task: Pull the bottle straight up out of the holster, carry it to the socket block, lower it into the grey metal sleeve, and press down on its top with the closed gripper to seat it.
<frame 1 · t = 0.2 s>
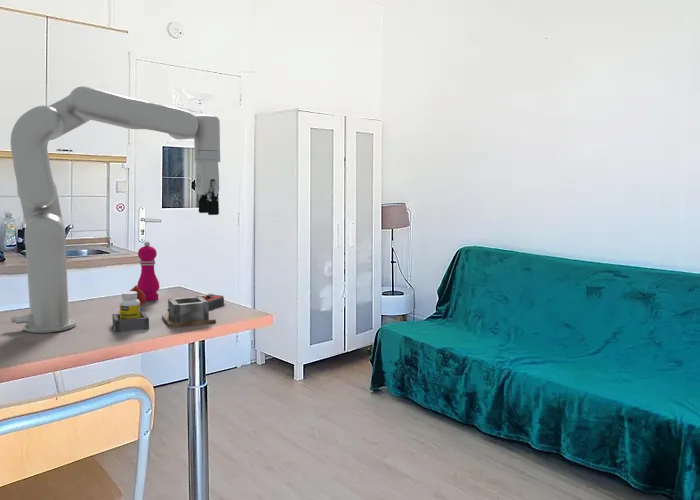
hand: (208, 213, 175), 31 cm above the table, tool pointing down, fingers open, 9 cm apart
holster: (130, 326, 161), on the table
socket: (188, 320, 168), on the table
pepper mill: (148, 300, 196), on the table
walkie-talkie: (197, 309, 184), on the table
onion: (136, 310, 180), on the table
supplement bottle: (130, 327, 161), resting in holster
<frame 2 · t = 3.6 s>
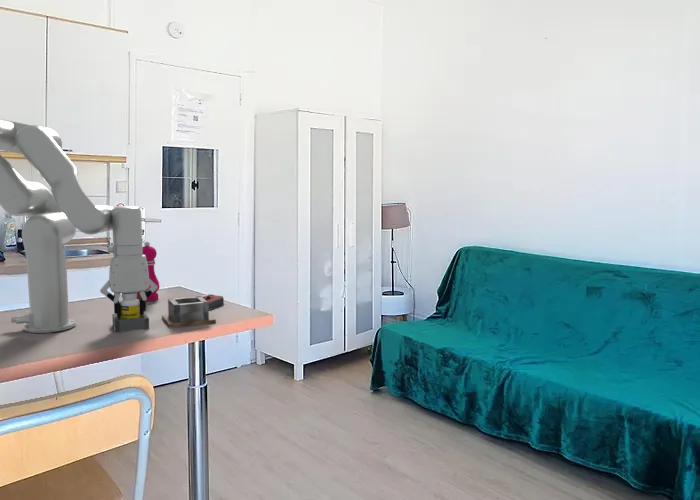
hand: (130, 314, 161), 4 cm above the table, tool pointing down, fingers closed on supplement bottle, 5 cm apart
supplement bottle: (130, 327, 161), resting in holster, touching gripper
everything else where it was.
when the fingers open (7 cm above the table, at t = 10.0 s): supplement bottle drops 2 cm, resting on socket.
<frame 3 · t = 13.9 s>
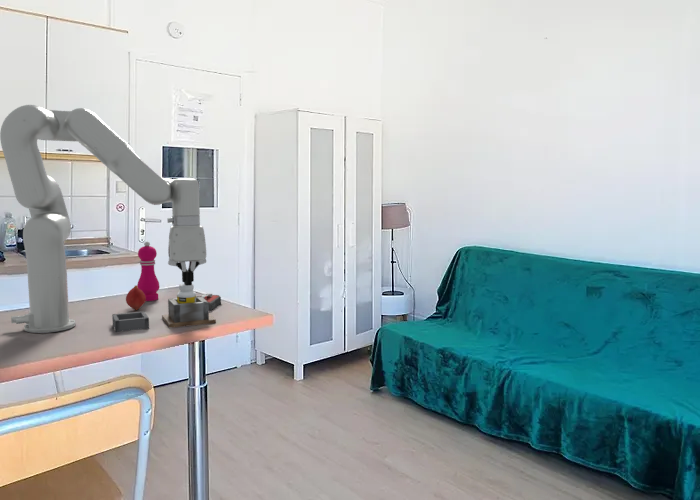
hand: (188, 284, 167), 11 cm above the table, tool pointing down, fingers closed
supplement bottle: (186, 318, 168), point 1 cm above the table, touching gripper, socket
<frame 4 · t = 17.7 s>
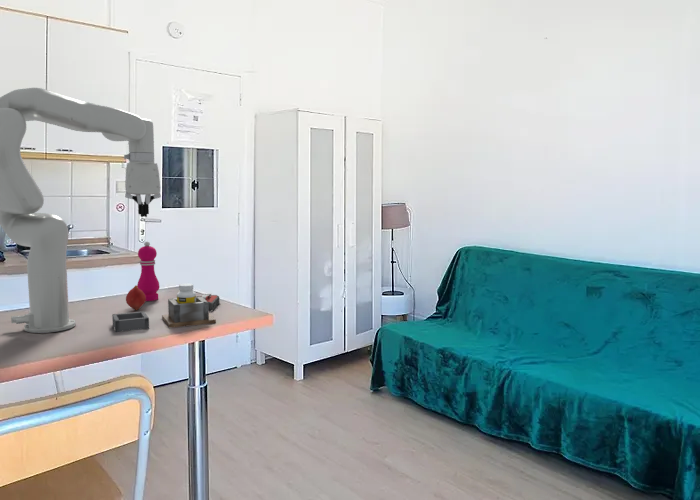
hand: (143, 216, 184), 29 cm above the table, tool pointing down, fingers closed
supplement bottle: (186, 318, 168), point 1 cm above the table, touching socket
at the end: supplement bottle 0.5 cm off-centre on the socket, point 0.8 cm above the socket's base; supplement bottle tilted 0°; the gripper is holding nothing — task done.
